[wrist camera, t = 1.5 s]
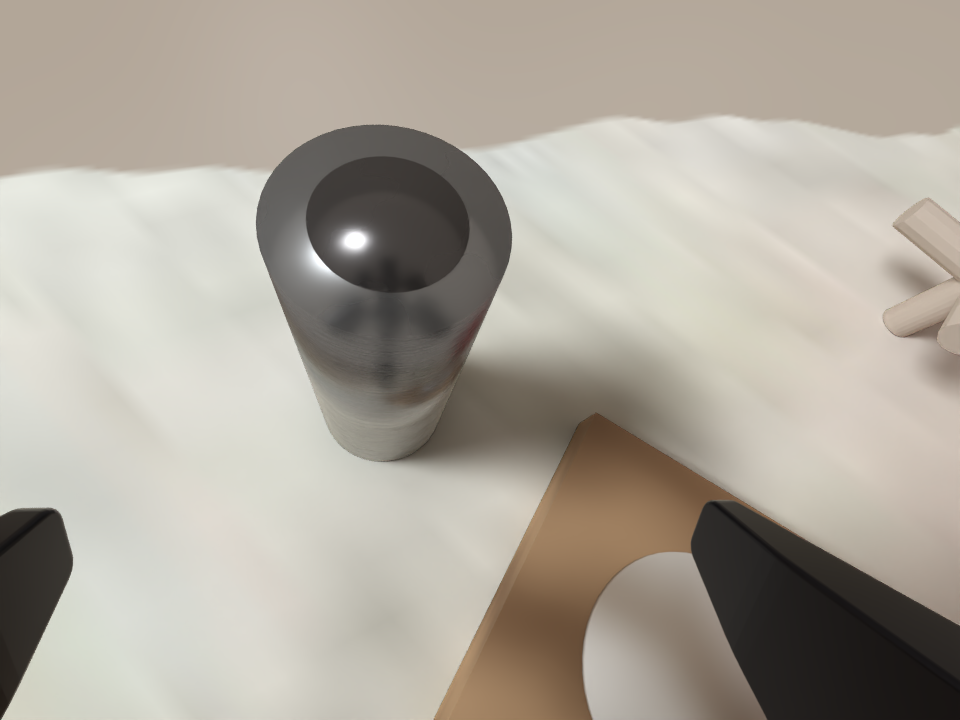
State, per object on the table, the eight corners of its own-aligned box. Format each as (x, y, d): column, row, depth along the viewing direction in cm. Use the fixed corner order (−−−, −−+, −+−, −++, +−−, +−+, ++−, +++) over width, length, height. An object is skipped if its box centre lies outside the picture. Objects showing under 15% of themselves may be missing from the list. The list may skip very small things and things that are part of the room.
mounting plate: (730, 1138, 16) (785, 1229, 14) (349, 891, 16) (345, 941, 14) (843, 585, 23) (890, 587, 21) (578, 423, 23) (598, 410, 21)
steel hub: (400, 484, 21) (431, 385, 9) (298, 421, 21) (195, 241, 9) (461, 387, 23) (552, 202, 11) (367, 330, 23) (357, 86, 11)
